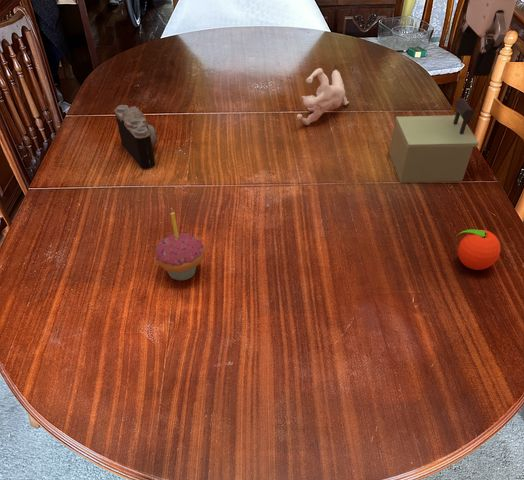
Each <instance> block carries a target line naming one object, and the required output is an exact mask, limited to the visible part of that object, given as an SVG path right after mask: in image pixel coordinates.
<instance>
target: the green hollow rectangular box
mask: <svg viewBox="0 0 524 480" xmlns="http://www.w3.org/2000/svg"><path fill="white" fill-rule="evenodd" d="M473 150H474V147H434V148H408V147H407V145H406V142H405V140H404V138H403V136H402V133H401V131H400V129H399V127H398V125H397V122H396V120H395V121H394V125H393V130H392V135H391V141H390V145H389V151H388V155H389V157H390V160H391V162H392V166H393V168H394V170H395V172H396V175H397V177H398V180H399V183H400V184H404V183H439V182H445V183H447V182H463V180H464V177H465V174H466V171H467V168H468V164H469V162H470V158H471V156H472V153H473Z"/></svg>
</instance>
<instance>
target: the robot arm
mask: <svg viewBox="0 0 524 480" xmlns="http://www.w3.org/2000/svg"><path fill="white" fill-rule="evenodd" d="M516 5H517V0H468V2H467V9H466V13H465V16H464V21H465V22H464V24H463V26H462V32H461V36H460V39H459V42H458V47H457V51H456V56H457V57H472V56H474V53H475V50H476V46H477V43H478V40H479V38H481V39H480V51H477V55H476V57H475V62H474V64H473V69H472V72H471V75H472V76H473V77H488V76H490V74H491V73H492V68H493V65H494V62H495V59H496V56H497V54H498V53H499V50H500V48H501V46H502V45H503V41H504V39H505V37H506V36H507V34H508V32H509V30H510V25H511V22H512V19H513V15H514V12H515V8H516ZM488 39H489V42H488Z"/></svg>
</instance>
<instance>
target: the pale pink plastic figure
mask: <svg viewBox="0 0 524 480" xmlns="http://www.w3.org/2000/svg"><path fill="white" fill-rule="evenodd" d="M315 77H317V79H318V81H319V83H320V85H319V86H318V88H317V89H316V92H315V95H316V96H315V95H302V96H301V100H302V104H303V105H304V107H306V108H307V112H310V113H311V114H308V116H307V117H304V116H303V114H302V113H298V114H296V119H297V120H299V121H300V122H301V124H303V125H304V126H310V124H311V123H312V122H316V121H318V119H320V117H321V116H322V115H323V114H324V113H325V112H328V111H331V110H335V109H339V108H340V107H341V104H342V105H343V106H347V105H348V104H349V103H350V102H349V100H348V99H347V97H346V90H345V85H344V81H343V78H342V76H341V72H340V71H339V70H338V69H334V70H333V71H332V73H331V84H330V83H329V81H330V80H329V78H328V76H327V74H325V73H324V70H323V68H321V67H319V68H316V69H314V71H313V72H312V73H311V74H310V75H309V76H308V77H307V78H306V79H305V82H306V84H308V85H310V84H312V82H313V80H314V78H315Z"/></svg>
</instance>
